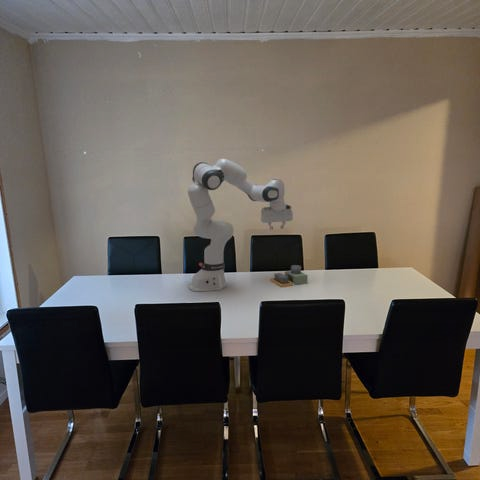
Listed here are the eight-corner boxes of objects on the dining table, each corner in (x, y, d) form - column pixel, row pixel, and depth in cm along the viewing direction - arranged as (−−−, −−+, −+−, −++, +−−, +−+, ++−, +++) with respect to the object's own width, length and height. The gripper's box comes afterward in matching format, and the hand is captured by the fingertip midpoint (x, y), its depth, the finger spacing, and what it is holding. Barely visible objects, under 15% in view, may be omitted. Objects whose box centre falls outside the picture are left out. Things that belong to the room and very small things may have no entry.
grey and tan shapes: (281, 287, 221) (281, 272, 219) (270, 280, 234) (270, 266, 232) (307, 283, 228) (308, 268, 226) (295, 277, 240) (296, 263, 239)
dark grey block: (282, 286, 224) (282, 278, 223) (274, 281, 233) (274, 273, 232) (288, 285, 225) (288, 277, 224) (280, 280, 234) (280, 272, 233)
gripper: (263, 207, 224) (263, 231, 226) (294, 206, 231) (293, 228, 234) (259, 206, 229) (259, 229, 232) (288, 205, 237) (288, 227, 240)
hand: (276, 229), depth 233 cm, fingers open, 6 cm apart
